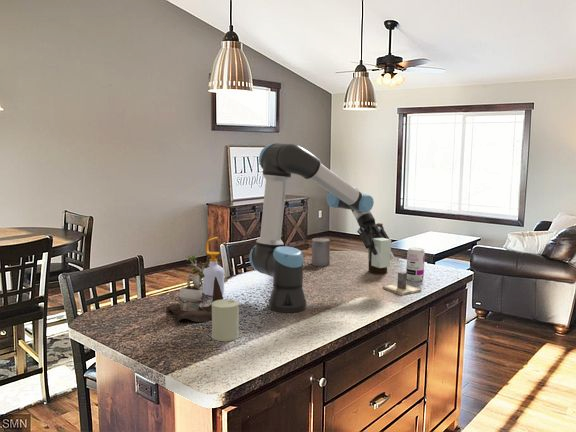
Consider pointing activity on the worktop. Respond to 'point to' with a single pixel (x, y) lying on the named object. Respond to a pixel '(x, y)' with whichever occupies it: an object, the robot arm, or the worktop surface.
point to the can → (225, 320)
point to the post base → (401, 291)
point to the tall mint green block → (382, 252)
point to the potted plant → (194, 297)
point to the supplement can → (415, 264)
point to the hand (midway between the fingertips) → (386, 259)
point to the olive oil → (371, 268)
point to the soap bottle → (212, 273)
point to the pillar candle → (320, 251)
